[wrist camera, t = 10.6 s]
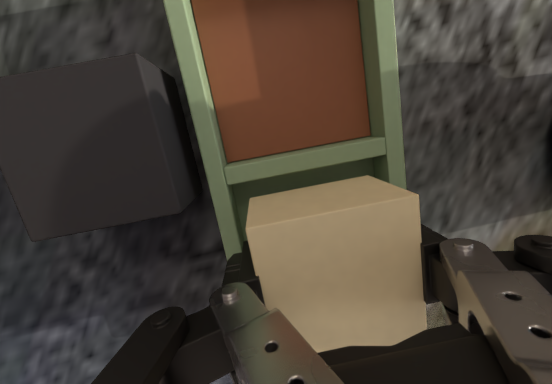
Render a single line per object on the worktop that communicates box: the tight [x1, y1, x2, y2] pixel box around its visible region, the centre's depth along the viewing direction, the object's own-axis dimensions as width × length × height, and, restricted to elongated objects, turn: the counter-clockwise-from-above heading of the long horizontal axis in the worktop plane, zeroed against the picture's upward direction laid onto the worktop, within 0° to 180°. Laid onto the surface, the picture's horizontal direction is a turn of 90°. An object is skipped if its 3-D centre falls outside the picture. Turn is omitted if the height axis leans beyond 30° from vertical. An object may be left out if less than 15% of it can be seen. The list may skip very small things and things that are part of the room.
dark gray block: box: [0, 53, 202, 242], centre depth 11 cm, size 6×6×4 cm
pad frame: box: [163, 0, 407, 262], centre depth 13 cm, size 9×17×2 cm, turn 10°
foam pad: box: [245, 175, 427, 353], centre depth 11 cm, size 6×6×4 cm
